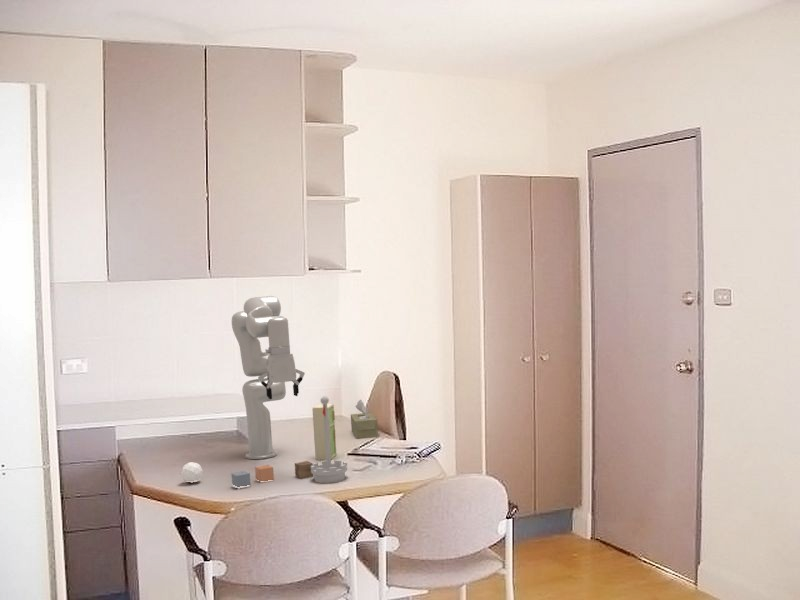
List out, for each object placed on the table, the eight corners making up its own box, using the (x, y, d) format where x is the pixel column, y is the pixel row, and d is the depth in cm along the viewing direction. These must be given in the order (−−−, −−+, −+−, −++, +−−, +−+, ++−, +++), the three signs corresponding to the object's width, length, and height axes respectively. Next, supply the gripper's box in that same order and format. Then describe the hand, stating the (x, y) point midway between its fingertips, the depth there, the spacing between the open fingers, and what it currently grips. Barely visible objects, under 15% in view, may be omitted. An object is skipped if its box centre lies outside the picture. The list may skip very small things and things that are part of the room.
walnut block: (295, 476, 332) (294, 463, 332) (308, 474, 334) (307, 460, 334) (300, 479, 328) (300, 465, 327) (313, 476, 330) (312, 463, 330)
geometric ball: (187, 491, 331) (174, 473, 332) (204, 478, 336) (191, 462, 337) (192, 484, 326) (179, 466, 327) (209, 472, 331) (196, 454, 332)
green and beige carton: (333, 460, 355) (329, 407, 354) (315, 460, 357) (311, 407, 356) (338, 455, 363) (335, 403, 362) (321, 455, 364) (317, 404, 363)
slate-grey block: (232, 487, 322) (231, 473, 322) (245, 484, 325) (244, 470, 324) (237, 489, 318) (236, 475, 317) (250, 487, 320) (249, 473, 320)
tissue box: (351, 431, 412) (349, 397, 411) (372, 429, 413) (370, 395, 412) (356, 439, 393) (353, 403, 392) (378, 437, 395) (376, 401, 394)
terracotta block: (255, 480, 330) (255, 467, 329) (268, 478, 332) (267, 464, 332) (260, 483, 325) (260, 469, 325) (273, 480, 328) (273, 467, 327)
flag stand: (315, 475, 332) (310, 394, 331) (350, 473, 331) (345, 392, 329) (308, 484, 319) (302, 400, 318) (344, 482, 318) (339, 398, 316)
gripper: (258, 354, 326) (262, 401, 326) (305, 349, 332) (308, 395, 333) (254, 352, 333) (257, 398, 333) (299, 348, 339) (303, 393, 340)
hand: (283, 397), depth 333 cm, fingers open, 9 cm apart
